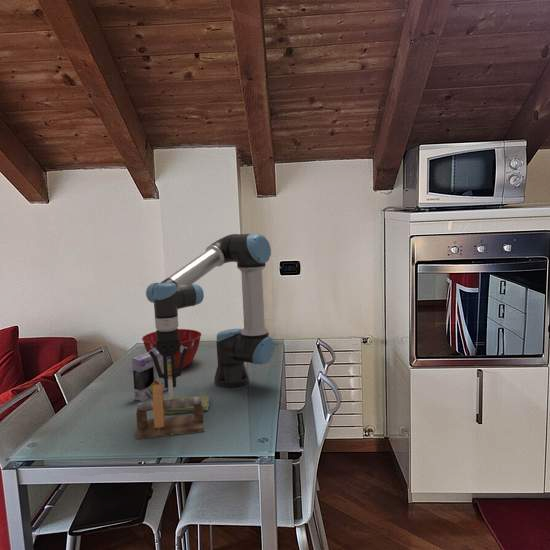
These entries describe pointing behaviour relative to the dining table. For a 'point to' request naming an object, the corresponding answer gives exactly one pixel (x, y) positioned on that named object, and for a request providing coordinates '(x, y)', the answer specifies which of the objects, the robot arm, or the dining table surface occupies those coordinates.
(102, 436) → the dining table surface
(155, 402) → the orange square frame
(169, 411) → the washcloth
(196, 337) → the mixing bowl
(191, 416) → the rod stand
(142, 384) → the cake pan box
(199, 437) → the dining table surface
